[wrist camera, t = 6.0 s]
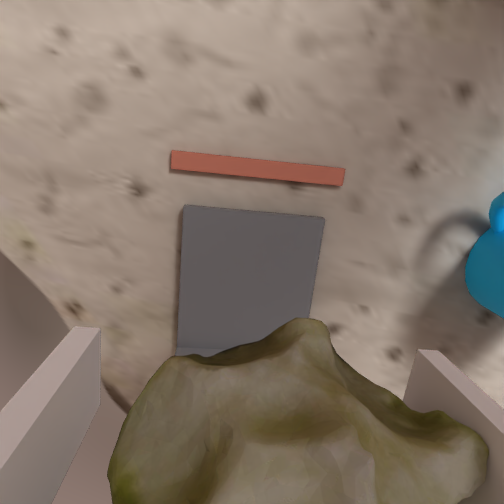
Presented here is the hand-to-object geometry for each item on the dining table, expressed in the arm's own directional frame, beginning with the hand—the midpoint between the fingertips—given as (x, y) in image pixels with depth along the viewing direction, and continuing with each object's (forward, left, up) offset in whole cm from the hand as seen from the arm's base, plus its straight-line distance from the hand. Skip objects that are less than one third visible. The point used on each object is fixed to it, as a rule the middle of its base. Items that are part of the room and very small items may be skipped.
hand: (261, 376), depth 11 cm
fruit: (+2, 0, -1) cm, 2 cm away
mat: (+3, +1, -15) cm, 15 cm away
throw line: (-6, +1, -15) cm, 16 cm away
